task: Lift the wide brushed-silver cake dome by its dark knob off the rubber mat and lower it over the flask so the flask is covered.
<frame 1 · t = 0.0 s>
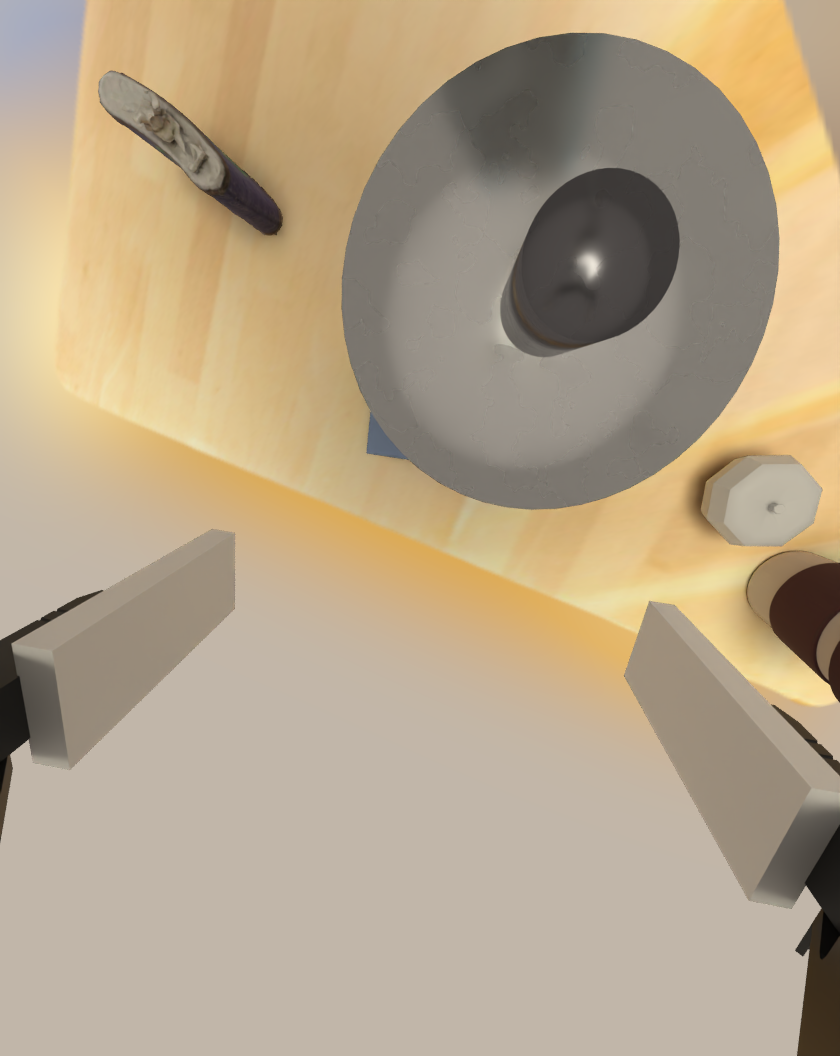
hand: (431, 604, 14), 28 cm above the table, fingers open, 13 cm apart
grey faceted round piece: (728, 489, 39), on the table
coffee cup: (784, 584, 41), on the table
mat: (516, 336, 37), on the table
flask: (235, 190, 36), on the table
cake dome: (517, 335, 36), point 1 cm above the table, touching mat
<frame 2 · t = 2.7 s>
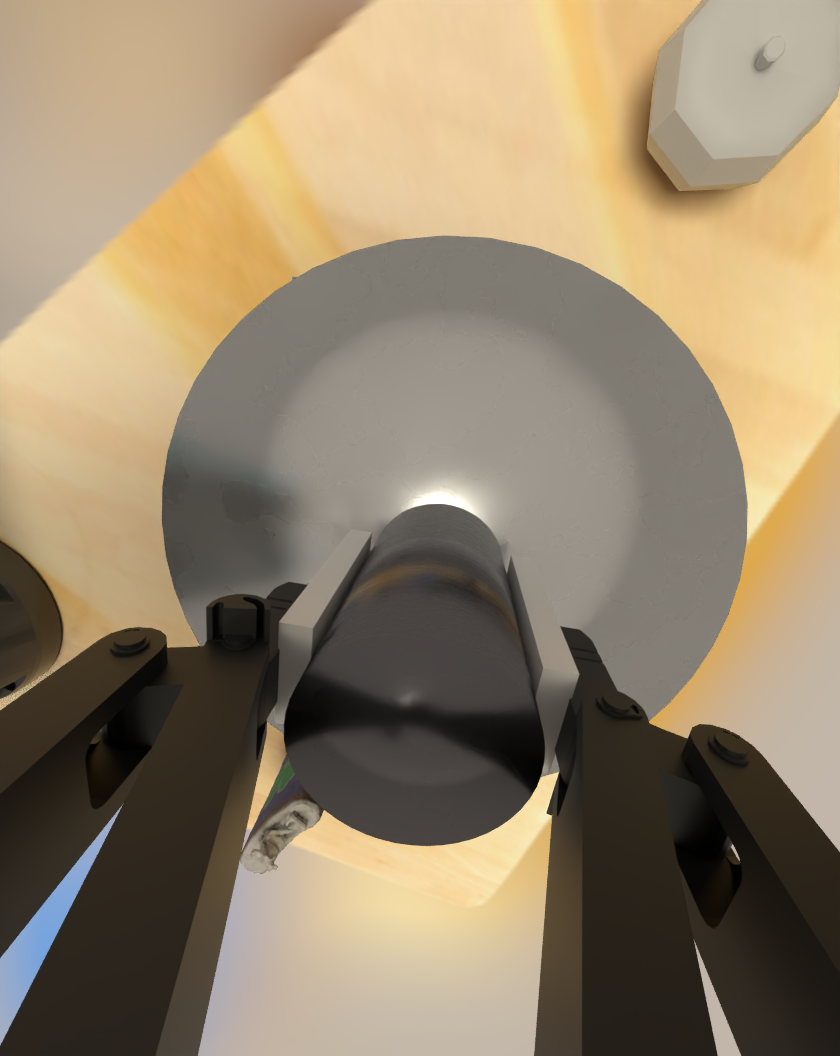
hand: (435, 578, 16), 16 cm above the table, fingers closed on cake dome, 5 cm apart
grey faceted round piece: (692, 137, 24), on the table
flask: (317, 737, 39), on the table
cake dome: (448, 487, 30), point 1 cm above the table, touching gripper, mat
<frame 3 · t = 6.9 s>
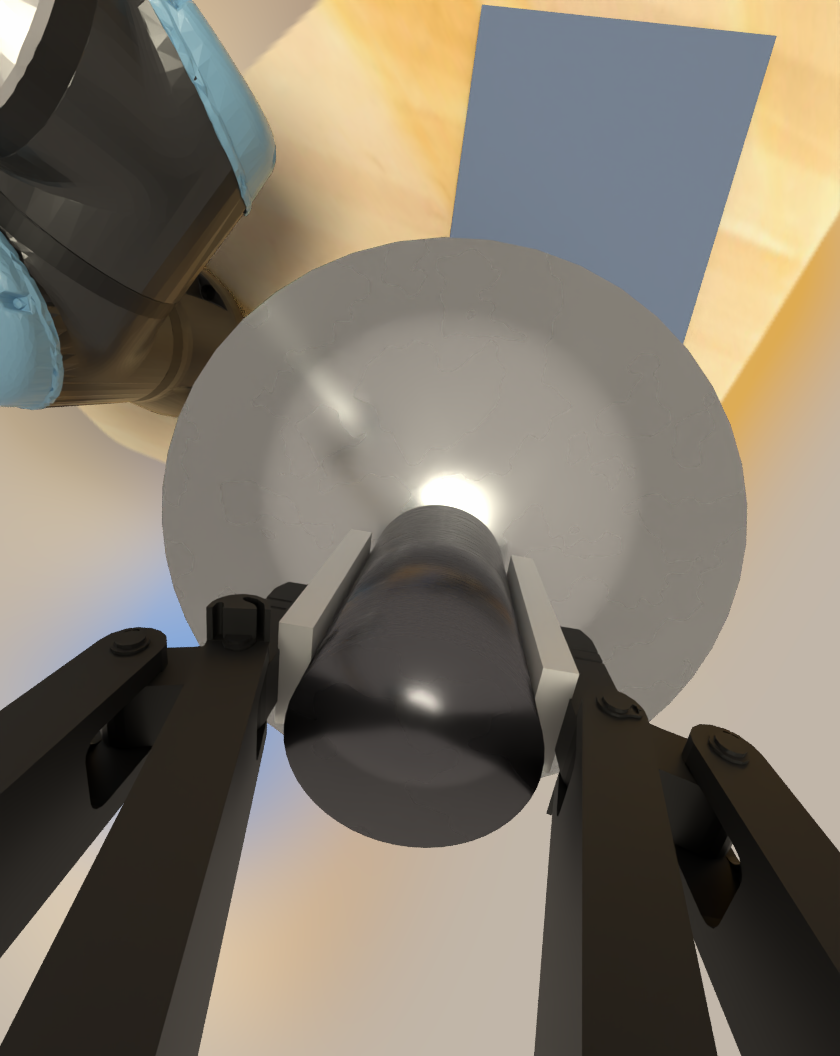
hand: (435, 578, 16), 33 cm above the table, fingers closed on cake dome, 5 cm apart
mat: (587, 195, 39), on the table
cake dome: (448, 487, 30), point 18 cm above the table, touching gripper
when the fingers open (17 cm above the table, at t = 11.0 s): cake dome drops 2 cm, on the table.
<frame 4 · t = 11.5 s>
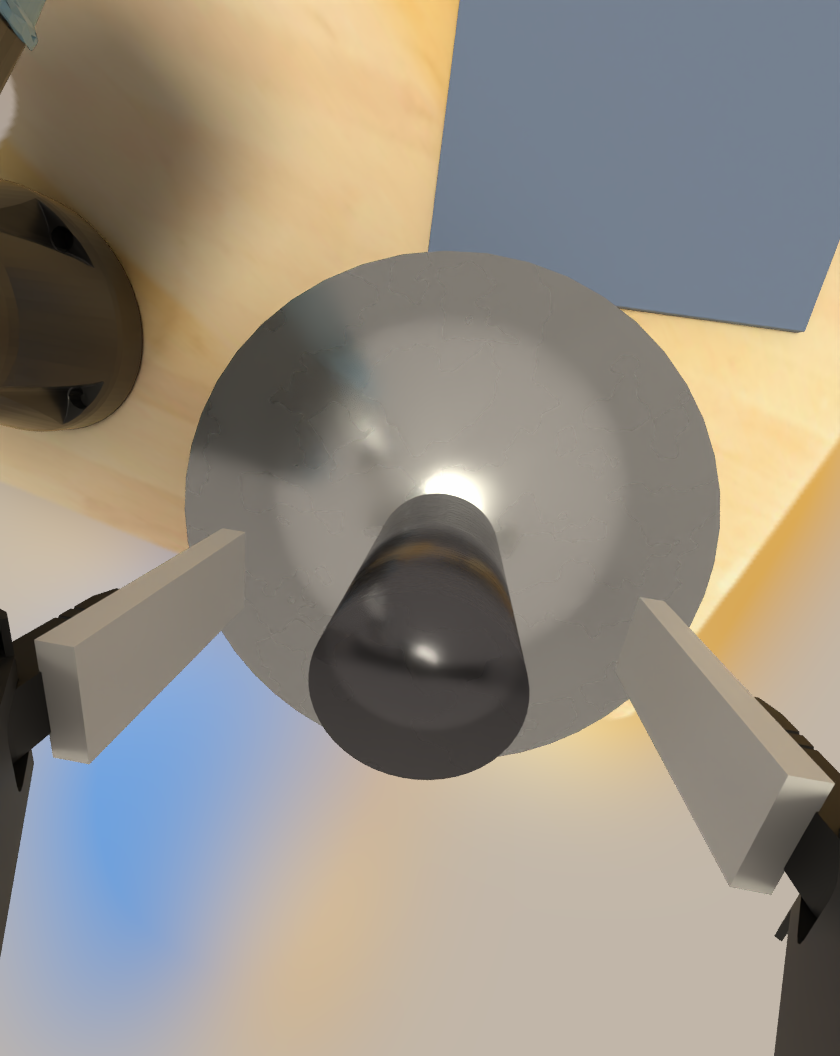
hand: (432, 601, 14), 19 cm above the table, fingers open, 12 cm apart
mat: (665, 72, 24), on the table
cake dome: (448, 482, 32), on the table
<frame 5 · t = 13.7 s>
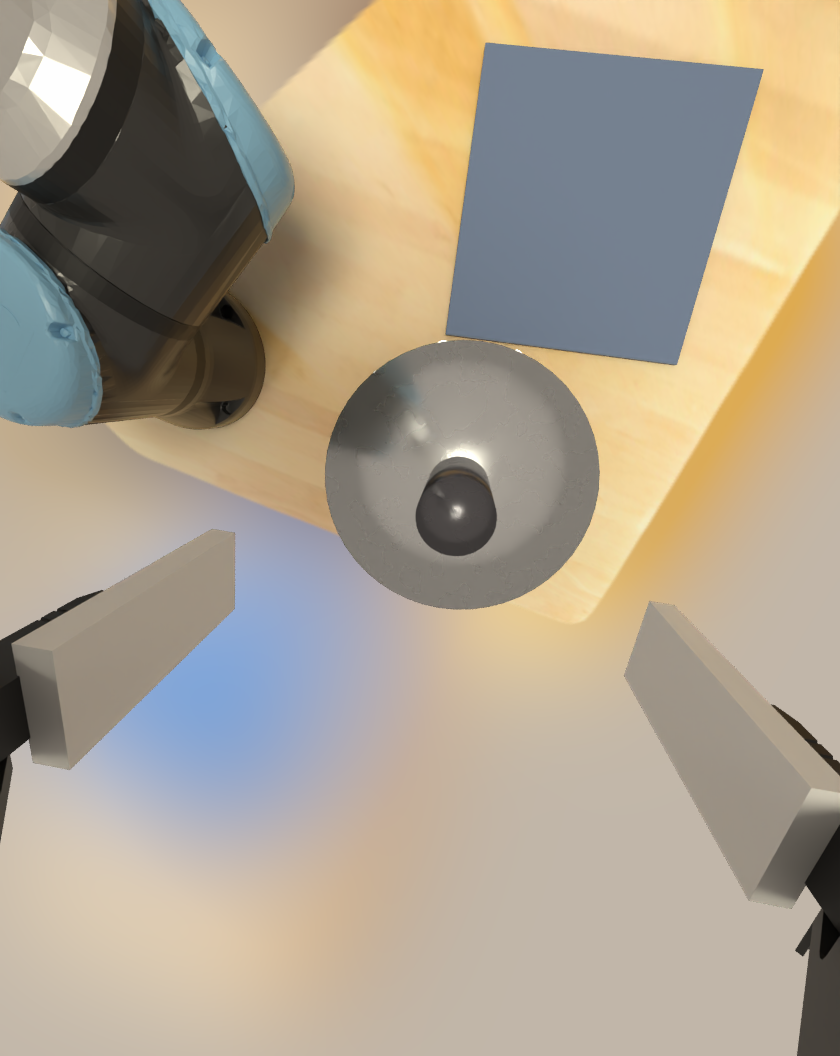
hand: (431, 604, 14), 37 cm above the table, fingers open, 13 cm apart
mat: (586, 217, 41), on the table
cake dome: (459, 460, 49), on the table
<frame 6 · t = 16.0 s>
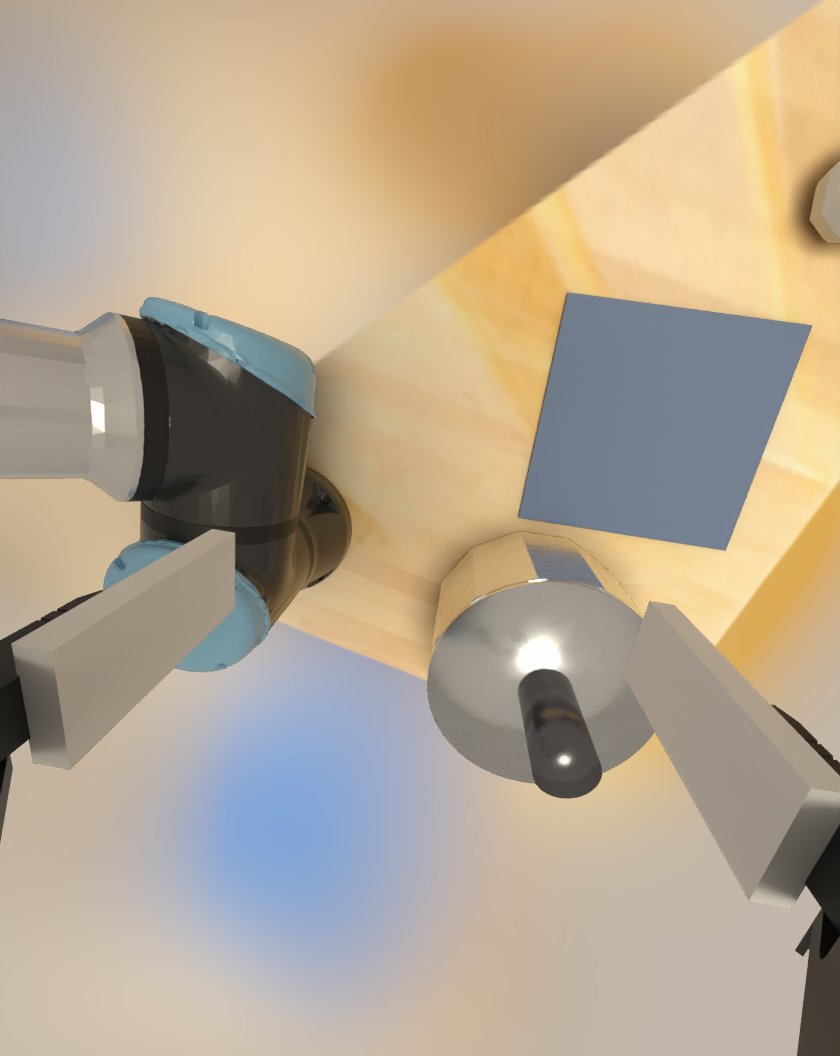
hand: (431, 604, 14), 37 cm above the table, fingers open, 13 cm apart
grey faceted round piece: (832, 209, 40), on the table
mat: (650, 429, 46), on the table
cake dome: (524, 617, 54), on the table
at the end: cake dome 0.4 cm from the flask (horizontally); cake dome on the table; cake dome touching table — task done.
